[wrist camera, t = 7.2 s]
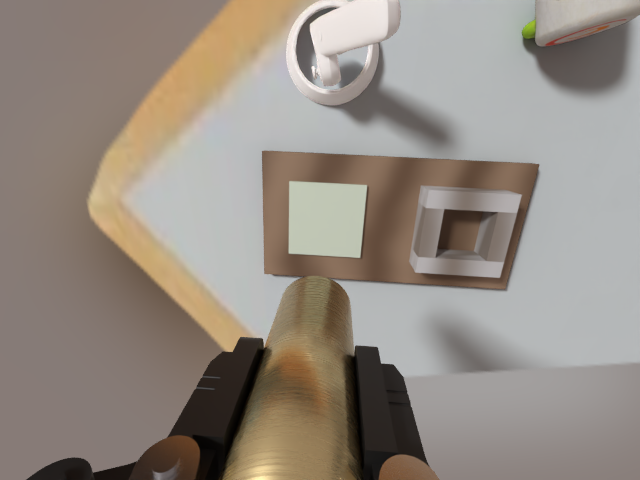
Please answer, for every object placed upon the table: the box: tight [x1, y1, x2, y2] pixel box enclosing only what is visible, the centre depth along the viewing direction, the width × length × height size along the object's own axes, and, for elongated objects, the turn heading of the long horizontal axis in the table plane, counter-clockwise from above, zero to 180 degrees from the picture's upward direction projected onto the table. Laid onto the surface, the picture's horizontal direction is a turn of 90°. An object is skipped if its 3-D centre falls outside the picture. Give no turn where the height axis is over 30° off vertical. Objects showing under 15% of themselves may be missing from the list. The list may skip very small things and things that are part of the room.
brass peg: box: [218, 276, 364, 480], centre depth 8 cm, size 4×4×11 cm
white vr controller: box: [286, 0, 401, 105], centre depth 22 cm, size 8×12×7 cm
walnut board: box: [262, 151, 539, 289], centre depth 27 cm, size 24×12×4 cm, turn 88°
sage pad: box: [289, 181, 367, 258], centre depth 28 cm, size 7×7×1 cm
